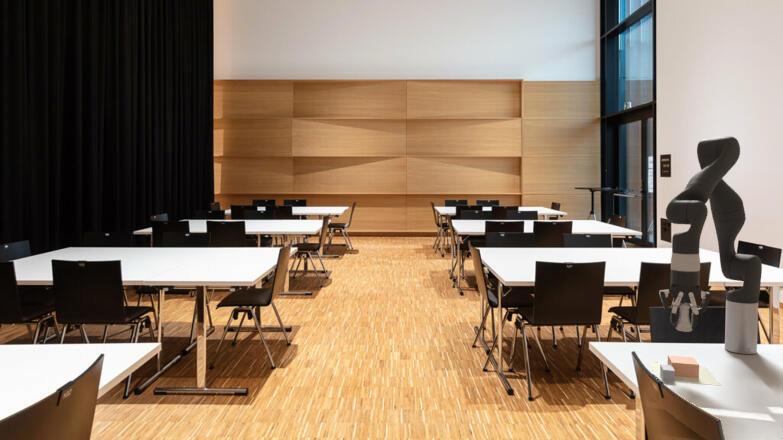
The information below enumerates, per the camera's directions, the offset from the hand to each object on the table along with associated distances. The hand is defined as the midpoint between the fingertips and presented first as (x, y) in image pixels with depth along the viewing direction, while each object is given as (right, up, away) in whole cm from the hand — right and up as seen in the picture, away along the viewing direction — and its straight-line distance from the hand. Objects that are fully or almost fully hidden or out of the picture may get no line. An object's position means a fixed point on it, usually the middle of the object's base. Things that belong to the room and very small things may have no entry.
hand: (683, 325), depth 157 cm
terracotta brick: (0, -14, +1) cm, 14 cm away
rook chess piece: (0, -1, 0) cm, 1 cm away
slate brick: (-6, -15, -3) cm, 16 cm away
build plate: (0, -15, +1) cm, 15 cm away
